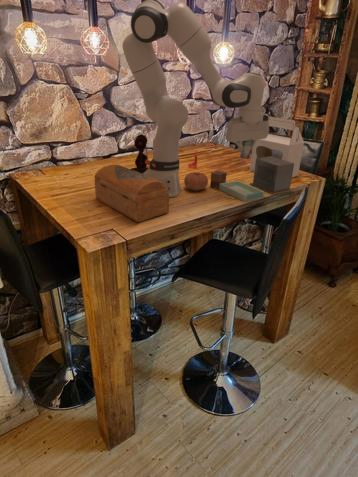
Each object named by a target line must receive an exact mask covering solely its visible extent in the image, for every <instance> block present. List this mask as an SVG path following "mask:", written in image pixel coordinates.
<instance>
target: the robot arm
mask: <svg viewBox="0 0 358 477" xmlns="http://www.w3.org/2000/svg"><path fill="white" fill-rule="evenodd" d="M130 29H131V33H130V34H128V35H127V36H125V38H124V40H123V41H122V52H123V54H124V56H125V60H126V64H127V65H128V68H129V70H130V72H131V74H132V76H133V78H134V80H135V82H136V85H137V86H138V88H139V91H140V93H141V96H142V100H143V103H144V106H145V113H146V115H147V118H149V119H150V120H151V121H152V122H153V123H155V124H157V129H156V133H155V136H154V137H153V140H152V159H151V160H149V159H148V160H146V161H145V163H146V164H147V166H148V168H149V169H147V170H146V171H145V172H144V173H143V174H144V175H146V176H148V177H151V178H153V179H156V180H158V181H160V182H162V183H163V184H165V185H166V186H167V187H168V188H169V198H173V197H178V196H179V194H180V193H181V192H182V187H181V183H180V176H179V175H180V174H179V172H180V171H179V170H180V159H179V158H180V157H179V153H180V138H181V134H182V131H183V127H184V126H185V125H186V124H187V122H188V119H189V115H190V114H189V110H188V107H187V106H186V105H185V104H183V103H182V102H181V101H180V100H178V99H175V98H172V97H170V95H169V92H168V89H167V77H166V75H165V71H164V70H163V67H162V66H161V63H160V61H159V58H158V56H157V55H156V52H155V49H154V46H153V42H156V41H158V40H160V39H162V38H164V37H166V36H168V37H169V38H171V40H172V41H173V42H174V44H175V45H176V47H177V48H178V49H179V51H180V53H182V55H183V56H185V58H186V59H187V60H188V61H189V62H190V63H191V64H192V65H193V66H194V68H196V71H197V72H198V74H199V75H200V76H201V79H202V80H203V81H204V83H205V84H206V86H207V87H208V90H209V95H210V96H209V97H210V98H211V100H212V103H214V104H215V105H217V106H218V107H224V108H227V109H235V108H236V109H237V108H238V116H237V117H231V118H229V120H228V123H227V127H226V132H225V140H226V141H227V142H230V143H235V142H236V146H237V151H238V152H239V153H240V152H242V151H243V149H244V147H242V145H241V144H242V141H247V140H250V141H252V143H251V149H250V152H252V150H253V146H254V145H255V143H256V140H257V139H266V137H267V136H268V131H270V126H269V123H268V121H269V120H270V117H271V116H270V115H268V114H266V113H263V112H262V101H263V98H264V90H265V78H264V76H262V74H260V73H256V72H250V71H247V72H244V73H243V74H242V75H241V76H239V77H237V78H235V79H233V80H227V79H226V78H224V77H223V76H221V74H220V72H219V71H218V69H217V68H216V66H215V64H214V62H213V61H212V59H211V50H212V39H211V37H210V35H209V33H208V32H207V29H206V27H205V26H204V25H203V23H202V22H201V21H200V19H199V18H198V17H197V15H196V14H195V13H194V12H193V10H192V9H191V8H190V7H189V6H188V4H185V3H184V2H182V1H178V2H175V3H172V4H171V5H170V6H169V7H167V8H165V7H164V6H163V4H162V3H161V2H160V1H158V0H143V1H141V3H139V4H138V5H137V6H136V8H135V10H134V11H133V13H132V15H131V18H130Z"/></svg>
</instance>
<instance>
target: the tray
mask: <svg viewBox="0 0 358 477" xmlns="http://www.w3.org/2000/svg"><path fill="white" fill-rule="evenodd" d="M219 191H221V192H223V193H225V194H227V195H229V196H231V197H233V198H236V199H237V200H239V201H241V202H244V203H248V202H252V201H256V200H261V199H264V198H265V193H266V192H265V191H263V190H261V189H258V188H256V187H254V186H251V185H250V184H248V183H246V182H243V181H240V180H239V179H238V180H233V181H227V182H226V183H220V184H219Z"/></svg>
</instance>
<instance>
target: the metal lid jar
mask: <svg viewBox="0 0 358 477" xmlns="http://www.w3.org/2000/svg"><path fill="white" fill-rule="evenodd" d="M251 143H252V141H251V140H247V141H242V144H241V145H242V147H244V149H243V151H242V152H239V153H240V154H239V158H240V159H243V160H244V159H245V160H246V159H250V158H251V157H250V156H251V151H250V149H251Z"/></svg>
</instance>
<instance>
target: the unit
mask: <svg viewBox="0 0 358 477" xmlns="http://www.w3.org/2000/svg"><path fill="white" fill-rule="evenodd" d="M293 168H294V163H292V162H288V161H285V160H282V158H279V157H276V156H273V155H272V156H271V157H264V158H256V163H255V171H253V172H254V173H253V181H252V182H250V183H249V185H250V186H252V187H255V188H257V189H259V190H262V191H264V192H265V193H268V194H270V195H272V196H277V195H280V194H285V193H289V192H294V189H293V188H291V185H292V184H291V183H292V179H293V177H292V174H293Z"/></svg>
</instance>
